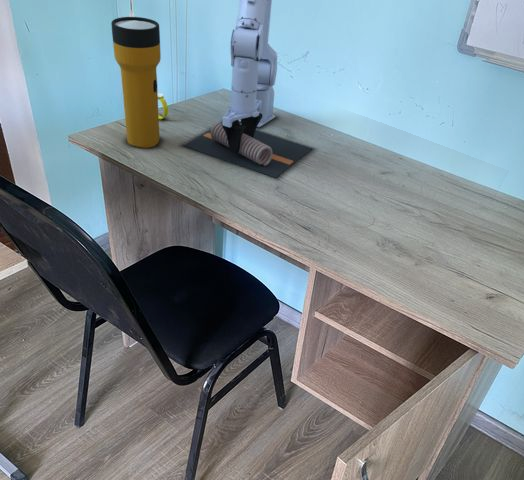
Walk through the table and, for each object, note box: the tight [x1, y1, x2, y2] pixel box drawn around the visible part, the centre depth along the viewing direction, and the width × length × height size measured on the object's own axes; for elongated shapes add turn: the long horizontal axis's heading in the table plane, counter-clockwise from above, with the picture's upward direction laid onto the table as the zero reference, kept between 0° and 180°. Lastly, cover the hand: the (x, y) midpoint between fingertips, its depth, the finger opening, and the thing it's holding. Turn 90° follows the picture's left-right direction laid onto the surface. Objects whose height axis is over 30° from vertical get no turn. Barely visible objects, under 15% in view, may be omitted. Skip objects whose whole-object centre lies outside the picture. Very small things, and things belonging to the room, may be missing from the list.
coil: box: [210, 121, 273, 166], centre depth 129 cm, size 5×5×18 cm
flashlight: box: [111, 16, 162, 149], centre depth 122 cm, size 10×26×10 cm
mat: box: [182, 129, 314, 179], centre depth 134 cm, size 20×26×1 cm
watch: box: [158, 92, 169, 121], centre depth 140 cm, size 6×3×6 cm, turn 52°
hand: (240, 147), depth 130 cm, fingers closed on coil, 5 cm apart
